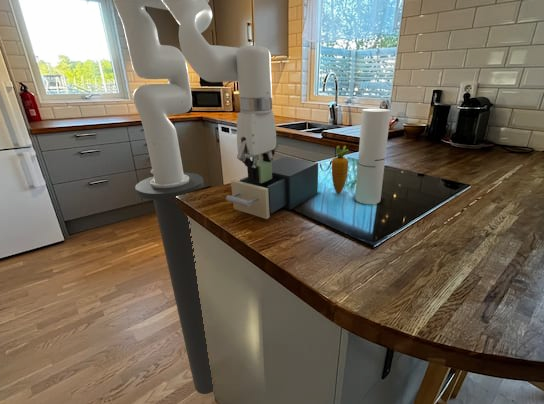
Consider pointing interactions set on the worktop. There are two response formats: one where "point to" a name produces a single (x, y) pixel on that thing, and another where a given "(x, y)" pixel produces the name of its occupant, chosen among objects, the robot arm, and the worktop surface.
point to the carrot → (339, 170)
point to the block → (264, 171)
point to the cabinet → (297, 179)
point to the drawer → (259, 196)
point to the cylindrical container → (372, 155)
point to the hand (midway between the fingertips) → (260, 178)
